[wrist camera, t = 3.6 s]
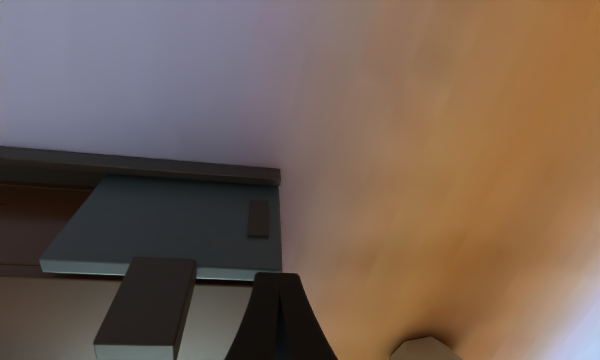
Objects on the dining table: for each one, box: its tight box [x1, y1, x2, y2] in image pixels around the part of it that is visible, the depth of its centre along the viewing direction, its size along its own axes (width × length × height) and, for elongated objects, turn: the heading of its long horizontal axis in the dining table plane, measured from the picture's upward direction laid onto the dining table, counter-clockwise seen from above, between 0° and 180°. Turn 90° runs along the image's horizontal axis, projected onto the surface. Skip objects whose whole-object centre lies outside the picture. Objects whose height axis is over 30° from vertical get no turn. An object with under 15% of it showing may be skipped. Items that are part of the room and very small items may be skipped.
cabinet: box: [0, 147, 281, 360], centre depth 17 cm, size 12×15×6 cm
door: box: [39, 173, 282, 360], centre depth 13 cm, size 1×8×9 cm, turn 83°
